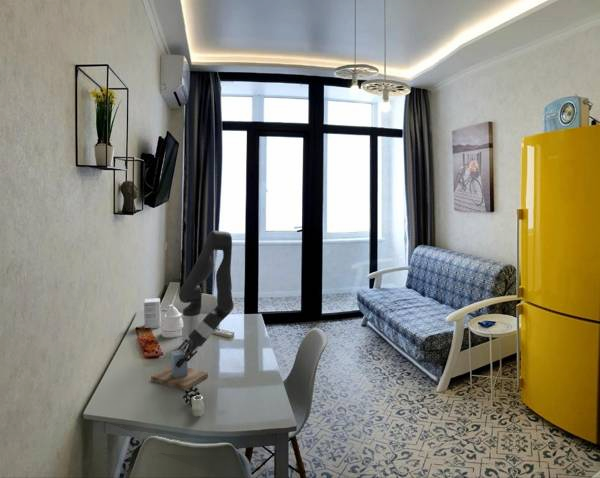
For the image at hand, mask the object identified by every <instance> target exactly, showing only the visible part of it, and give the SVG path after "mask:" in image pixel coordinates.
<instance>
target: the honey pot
mask: <svg viewBox="0 0 600 478" xmlns="http://www.w3.org/2000/svg"><path fill="white" fill-rule="evenodd" d="M168 307H169V308H168V310H167V311H166V313H165V314H164V315H163V317H164V319H163V320H162V321H163V322H162V325H161V336H162V337H163V338H168V339H169V338H178V337H182V327H183V317H182V316H183V313H181V312H179V310H178V308H177V307H175V306H174V304H169V305H168Z"/></svg>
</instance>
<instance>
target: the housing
mask: <svg viewBox="0 0 600 478" xmlns="http://www.w3.org/2000/svg"><path fill="white" fill-rule="evenodd" d="M184 351H185V350H178V349H177V350H173V351H171V352H170V356H171V366H172V374H173V376H174V378H177V377H182V376H186V375H188V370H187V368H188V362H187V361H185V362H184V363H183V364H182V366H181V367H180V368H178V367H177V366H176V363H177V362H178V361H179V360H180V359H181V358H182V356H183V354H184V353H183V352H184Z"/></svg>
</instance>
